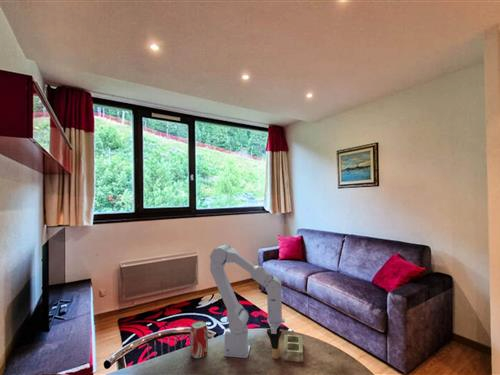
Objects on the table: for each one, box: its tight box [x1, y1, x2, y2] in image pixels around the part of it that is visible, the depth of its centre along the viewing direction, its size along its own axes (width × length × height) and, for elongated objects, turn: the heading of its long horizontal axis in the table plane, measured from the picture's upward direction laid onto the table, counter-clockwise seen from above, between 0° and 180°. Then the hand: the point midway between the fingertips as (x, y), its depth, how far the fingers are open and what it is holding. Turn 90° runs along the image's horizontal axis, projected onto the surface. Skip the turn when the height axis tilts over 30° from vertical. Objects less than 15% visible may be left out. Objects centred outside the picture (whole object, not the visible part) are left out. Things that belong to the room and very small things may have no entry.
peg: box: [271, 343, 280, 360], centre depth 100 cm, size 3×3×8 cm
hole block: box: [283, 334, 304, 363], centre depth 102 cm, size 8×12×4 cm, turn 171°
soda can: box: [189, 320, 209, 359], centre depth 102 cm, size 7×7×12 cm
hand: (275, 342), depth 100 cm, fingers open, 7 cm apart
